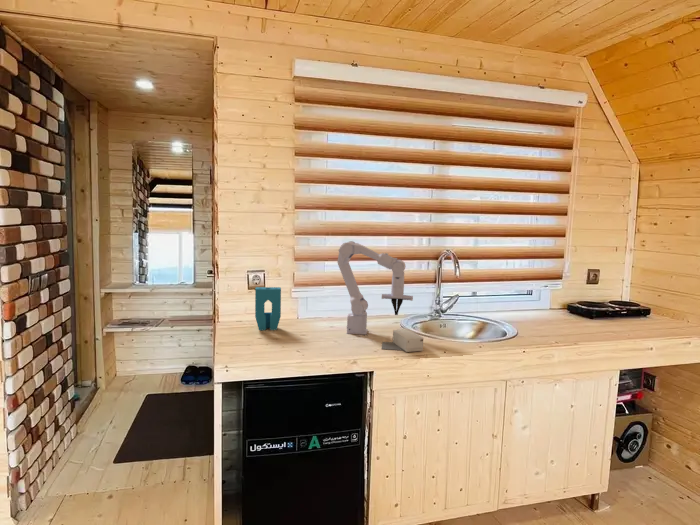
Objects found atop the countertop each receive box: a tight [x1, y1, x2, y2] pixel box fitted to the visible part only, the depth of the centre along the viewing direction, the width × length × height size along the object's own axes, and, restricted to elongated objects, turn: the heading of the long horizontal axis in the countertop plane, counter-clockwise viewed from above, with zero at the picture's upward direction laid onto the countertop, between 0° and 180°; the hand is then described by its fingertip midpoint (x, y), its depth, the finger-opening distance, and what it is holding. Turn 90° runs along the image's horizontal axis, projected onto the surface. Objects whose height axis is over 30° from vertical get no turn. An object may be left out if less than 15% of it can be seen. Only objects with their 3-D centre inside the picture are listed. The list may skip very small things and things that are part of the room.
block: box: [254, 286, 282, 331], centre depth 222 cm, size 12×5×20 cm, turn 100°
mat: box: [381, 341, 406, 352], centre depth 201 cm, size 14×10×1 cm
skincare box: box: [392, 328, 424, 353], centre depth 201 cm, size 8×6×15 cm
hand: (396, 314), depth 216 cm, fingers closed
